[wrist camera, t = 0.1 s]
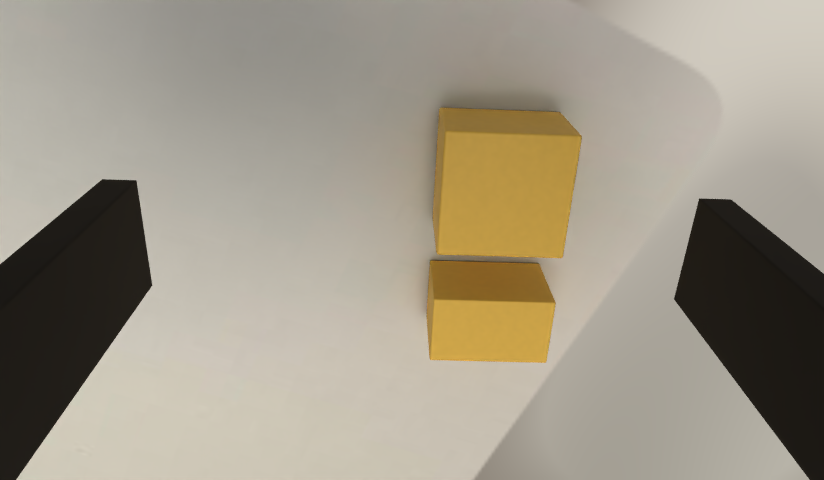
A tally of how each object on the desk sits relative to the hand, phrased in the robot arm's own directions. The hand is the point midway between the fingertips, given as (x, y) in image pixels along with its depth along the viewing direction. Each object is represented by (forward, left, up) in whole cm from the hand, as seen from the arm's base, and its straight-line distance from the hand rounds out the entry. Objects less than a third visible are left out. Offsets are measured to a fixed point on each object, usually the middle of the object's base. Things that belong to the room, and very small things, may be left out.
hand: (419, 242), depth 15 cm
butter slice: (+8, +4, -12) cm, 15 cm away
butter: (+2, +4, -12) cm, 13 cm away
